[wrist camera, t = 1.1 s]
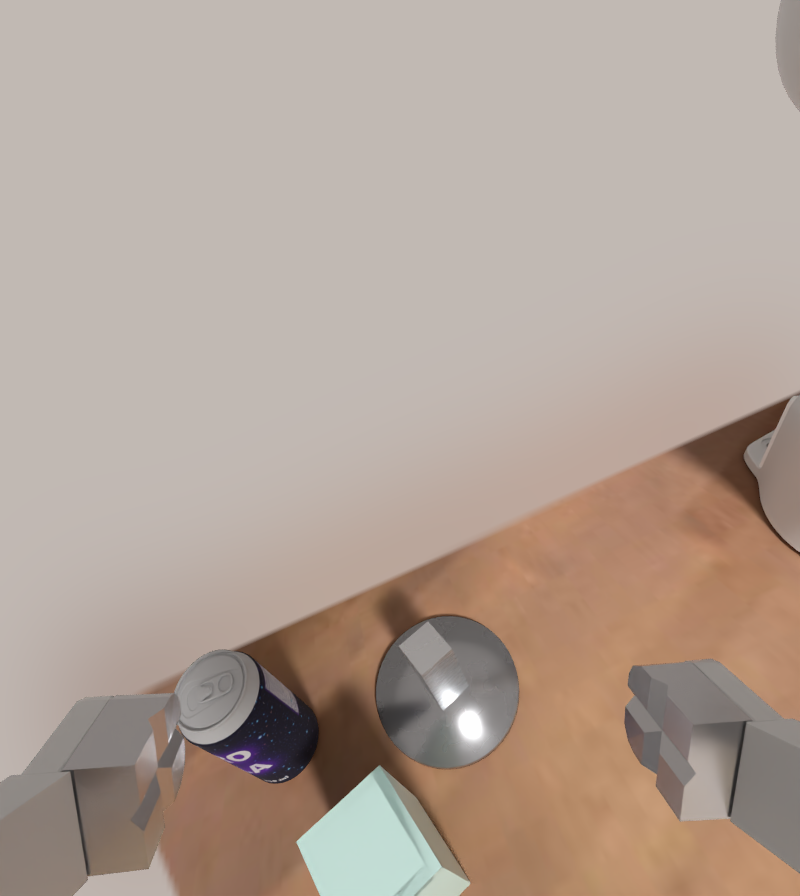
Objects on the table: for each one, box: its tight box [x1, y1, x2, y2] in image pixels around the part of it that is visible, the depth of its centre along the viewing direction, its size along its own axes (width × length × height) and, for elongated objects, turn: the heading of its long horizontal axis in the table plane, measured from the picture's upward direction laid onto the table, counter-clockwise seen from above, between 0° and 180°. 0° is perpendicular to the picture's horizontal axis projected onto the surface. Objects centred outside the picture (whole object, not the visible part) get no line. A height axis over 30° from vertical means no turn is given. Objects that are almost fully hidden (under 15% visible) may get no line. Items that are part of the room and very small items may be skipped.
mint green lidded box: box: [297, 765, 470, 896], centre depth 29 cm, size 6×6×9 cm
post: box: [376, 616, 519, 769], centre depth 37 cm, size 11×11×8 cm
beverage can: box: [174, 650, 319, 783], centre depth 36 cm, size 6×6×12 cm
